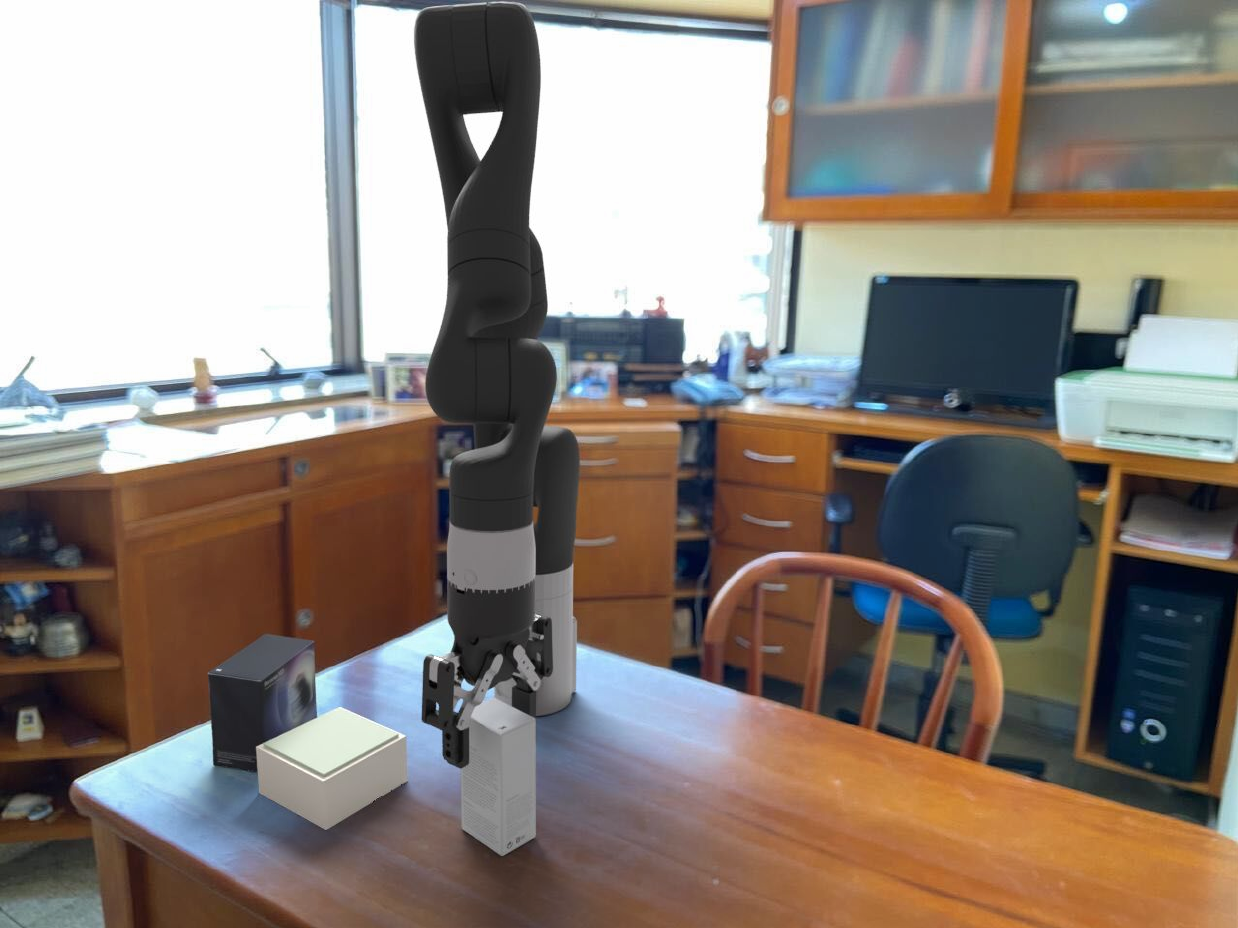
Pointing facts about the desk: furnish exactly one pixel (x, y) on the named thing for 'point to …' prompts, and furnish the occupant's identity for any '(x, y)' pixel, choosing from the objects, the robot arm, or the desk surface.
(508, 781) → the skincare box
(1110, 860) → the desk surface
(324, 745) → the cream rectangular block
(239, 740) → the small box
